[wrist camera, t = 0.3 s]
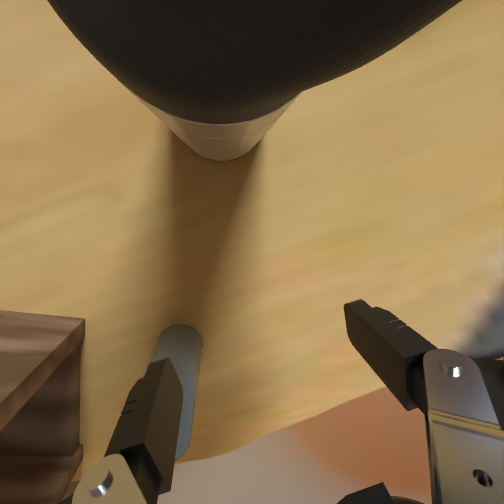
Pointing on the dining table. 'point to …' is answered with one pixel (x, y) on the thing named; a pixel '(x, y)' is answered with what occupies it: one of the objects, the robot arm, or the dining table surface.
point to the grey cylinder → (182, 372)
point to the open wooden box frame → (39, 406)
